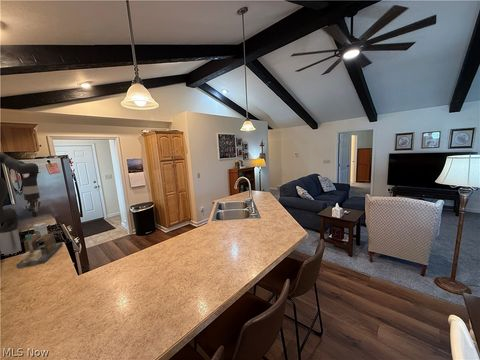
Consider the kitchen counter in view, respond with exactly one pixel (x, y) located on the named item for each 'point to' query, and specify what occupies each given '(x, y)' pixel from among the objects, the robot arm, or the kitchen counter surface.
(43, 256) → the tunnel
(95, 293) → the kitchen counter surface
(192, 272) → the kitchen counter surface
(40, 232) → the syrup box
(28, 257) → the slider block
